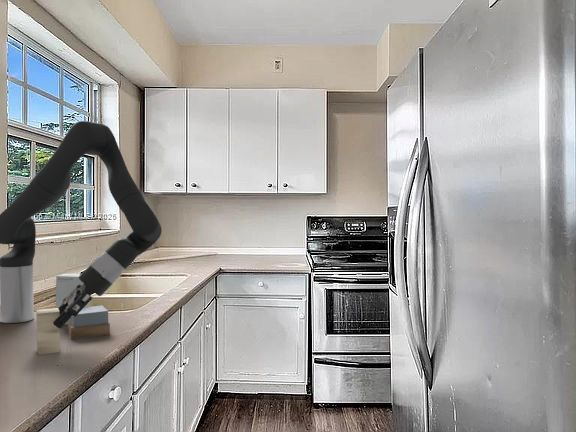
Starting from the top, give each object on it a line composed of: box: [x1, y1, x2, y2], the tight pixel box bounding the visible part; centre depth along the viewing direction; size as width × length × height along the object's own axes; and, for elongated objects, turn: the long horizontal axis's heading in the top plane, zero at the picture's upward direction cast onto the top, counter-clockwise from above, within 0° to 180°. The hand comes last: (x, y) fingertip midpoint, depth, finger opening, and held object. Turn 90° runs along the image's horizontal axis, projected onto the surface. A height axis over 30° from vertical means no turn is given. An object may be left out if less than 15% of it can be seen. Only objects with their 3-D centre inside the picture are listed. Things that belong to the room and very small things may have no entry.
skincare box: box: [54, 273, 89, 326], centre depth 156 cm, size 8×6×15 cm
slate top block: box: [70, 304, 109, 327], centre depth 145 cm, size 9×9×4 cm
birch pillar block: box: [36, 307, 61, 356], centre depth 127 cm, size 5×5×10 cm
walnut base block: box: [67, 320, 111, 340], centre depth 144 cm, size 10×10×4 cm
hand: (54, 322), depth 128 cm, fingers open, 8 cm apart
